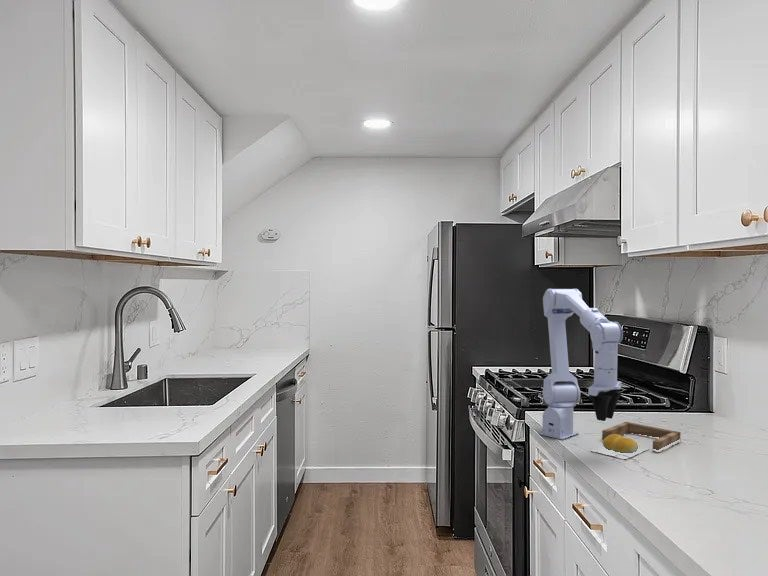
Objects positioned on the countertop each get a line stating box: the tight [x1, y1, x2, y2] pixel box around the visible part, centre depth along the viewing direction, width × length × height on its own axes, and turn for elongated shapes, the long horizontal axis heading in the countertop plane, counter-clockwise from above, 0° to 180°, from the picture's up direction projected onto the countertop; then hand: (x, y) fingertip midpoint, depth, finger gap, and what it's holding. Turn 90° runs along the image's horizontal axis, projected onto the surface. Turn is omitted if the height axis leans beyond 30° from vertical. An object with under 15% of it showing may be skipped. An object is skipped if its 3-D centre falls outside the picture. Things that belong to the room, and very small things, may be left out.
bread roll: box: [602, 434, 639, 453], centre depth 169 cm, size 8×9×4 cm
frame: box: [601, 421, 681, 450], centre depth 178 cm, size 15×16×3 cm
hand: (604, 419), depth 162 cm, fingers open, 3 cm apart
